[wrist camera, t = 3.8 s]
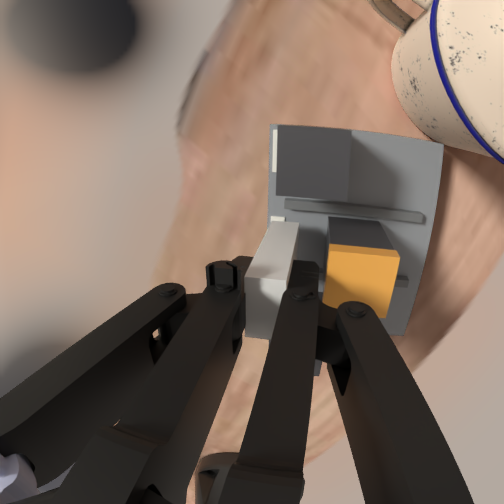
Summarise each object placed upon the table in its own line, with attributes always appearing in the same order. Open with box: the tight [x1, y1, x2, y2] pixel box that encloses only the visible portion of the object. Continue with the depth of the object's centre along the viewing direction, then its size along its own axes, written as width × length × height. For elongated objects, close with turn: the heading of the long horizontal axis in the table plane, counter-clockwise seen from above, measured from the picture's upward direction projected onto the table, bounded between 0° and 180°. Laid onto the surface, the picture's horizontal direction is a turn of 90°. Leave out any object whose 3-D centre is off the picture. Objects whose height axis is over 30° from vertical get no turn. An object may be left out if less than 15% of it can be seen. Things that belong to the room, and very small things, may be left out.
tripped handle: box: [322, 216, 400, 318], centre depth 15 cm, size 3×3×5 cm
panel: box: [267, 124, 444, 376], centre depth 17 cm, size 13×10×6 cm
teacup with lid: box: [367, 0, 504, 164], centre depth 9 cm, size 12×9×12 cm
